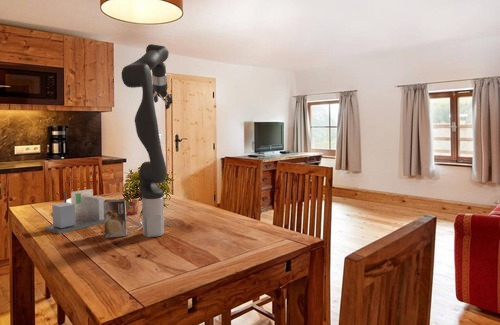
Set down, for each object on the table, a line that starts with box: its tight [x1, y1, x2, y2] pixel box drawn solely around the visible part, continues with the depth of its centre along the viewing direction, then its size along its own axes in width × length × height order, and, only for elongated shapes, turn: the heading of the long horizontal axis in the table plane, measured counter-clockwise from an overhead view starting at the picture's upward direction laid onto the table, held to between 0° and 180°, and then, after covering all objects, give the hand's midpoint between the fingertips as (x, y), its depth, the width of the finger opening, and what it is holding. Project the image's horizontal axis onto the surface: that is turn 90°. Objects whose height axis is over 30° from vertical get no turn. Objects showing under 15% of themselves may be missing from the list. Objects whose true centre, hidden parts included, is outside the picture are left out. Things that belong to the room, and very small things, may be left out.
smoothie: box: [126, 200, 140, 216], centre depth 195 cm, size 8×8×20 cm
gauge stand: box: [44, 188, 105, 235], centre depth 171 cm, size 24×12×16 cm, turn 145°
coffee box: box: [103, 198, 128, 239], centre depth 157 cm, size 9×6×16 cm
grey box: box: [51, 191, 76, 228], centre depth 166 cm, size 7×8×15 cm
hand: (161, 105), depth 195 cm, fingers open, 8 cm apart
